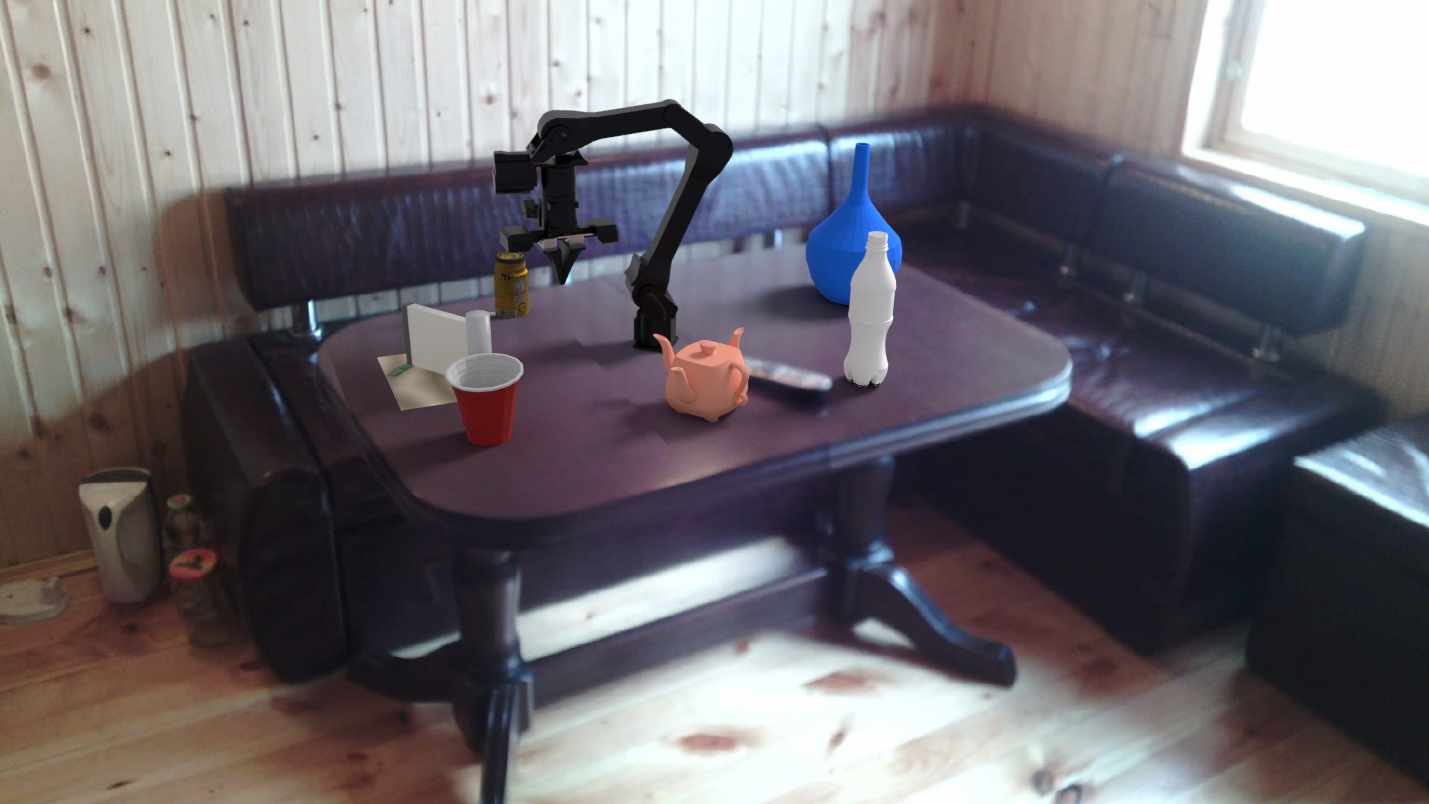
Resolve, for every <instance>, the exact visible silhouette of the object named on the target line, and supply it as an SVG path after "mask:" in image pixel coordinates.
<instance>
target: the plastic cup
mask: <svg viewBox="0 0 1429 804" xmlns="http://www.w3.org/2000/svg"><path fill="white" fill-rule="evenodd" d="M523 375H524V364H523V363H522V362H521V361H520V360H519V359H518V358H517V357H514V356H511V355H508V354H505V353H495V352H492V353H485V354H476V355H472V356H468V357H464V358H462V359H460V360H458V361H456V362H454V363H452V364H451V366H450V367H449V368H448V369H447V370H446V379H447V381H448V382H449V383H450V384H451V386H452V389H453V390H454V394H455V395H456V399H457V402H456V403H457V405H458V409H459V413H460V416H461V417H460V418H461V420H462V425H463V427H464V429H465V433H466V436H467V440H468V441H469V442H470V443H471V444H473V445H476V446H481V447H495V446H499V445H503V444H505V443H507V442H509V440H510V439H511V438H512V434H513V425H514V422H515V414H516V407H517V397H518V391H519V385H520V380H521V377H522V376H523Z"/></svg>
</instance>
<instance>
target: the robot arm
mask: <svg viewBox="0 0 1429 804" xmlns="http://www.w3.org/2000/svg"><path fill="white" fill-rule="evenodd" d="M536 127H537V128H536V133H534V135H533V137H532V138H531V140H530V141H529V143H527V146H526V147H525V151H524V150H522V151H520V150H519V151H506V150H494V151H493V152H492V153H493V161H492V162H493V163H492V164H493V165H492V166H493V167H492V169H491V171H492V173H491V174H492V185H493V192H494V195H495V196H506V195H507V196H508V195H531V191H532V192H533V191H535V188H537V187H538V172H537V169H538V168H539V173H540V174H539V175H540V176H539V177H540V194H539V198H538V204H537V203H536V202H535V199H534V198H531V199H529V198H528V199H522V200H521V216H522V219H523V220H524V221H525V220H533V224H534V225H536V226H538V228H541V229H539V230H538V229H536V230H529V229H528V228H527V227H526V226H525V225H524V224H522V225H512V226H511V225H510V226H509V225H508V226H503V227H502V228H501V229H500V232H499V243H500V244H501V246H502V247H503V248H504V249H505V250H506V252H507V251H508V252H509V253H519V252H520V253H526V252H528V253H529V252H530V250H531V249H532V248H533V247H534V245H535V247H536V248H537V249H538V250H539V251H540V252H541V253H542V254H543V255H546V257H547V258H548V260H549V263H550V265H551V268H552V270H553V272H554V275H555V278H556V281H557V283H558V285H559V286H564V285H566V282H567V280H568V278H569V275H570V273H571V271H572V269H573V266H574V264H575V262H576V260H577V259H578V257H579V256H580V255H581V252H582V251H586V250H587V245H585V244H584V240H585V238H592V237H593V238H594V237H596V240H598V241H599V242H600V243H601V244H608V243H609V244H610V243H611V244H612V243H618V242H620V229H619V226H618V225H617V224H615V223H614V222H613V221H612V220H611V219H610V218H608V217H607V216H601V217H593V218H592V217H591V218H587V219H586V222H585V225H578V209H579V208H580V201H578V198H577V197H578V192H577V191H578V190H577V167H587V166H589V163H590V162H589V161H588V159H587V157H586V156H585V155H583V154H582V153H581V152H580V150H579V149H582V148H584V147H586V146H588V145H590V144H592V143H593V142H596V141H601V140H603V139H610V138H616V137H623V136H628V135H634V134H640V133H648V132H653V131H659V130H665V129H671V130H672V131H674V132H675V133H677V134H678V135H679V136H680V137H681V138H683V139H684V140H686V141H687V142H688V146H687V150H686V152H685V153H686V155H685V161H684V169H683V174H682V176H681V178H680V180H679V183H678V185H677V186H676V189H675V190H674V191H675V192H674V193H673V195H672V198H671V199H670V201H669V204H668V206H667V208H666V211H665V213H664V215H663V217H662V219H661V221H660V223H659V225H658V228H657V230H656V233H655V235H654V237H653V239H652V240H651V243H650V244H649V247H648V248H647V250H646V251H645V252H643V253H642V255H639V254H638V253H636V252H634V253H632V257H631V259H630V263H629V266H628V267H627V269H625V270H624V271H623V274H624V275H625V280H624V281H625V287H626V289H627V292H628V294H629V295H630V298H631V300H632V301H633V303H634V304H635V305H636V307H638V309H637V310H636V316H635V317H634V318H633V340H634V343H633V345H632V347H633V348H635V349H640V350H641V349H642V350H648V351H654V352H655V351H656V352H662V353H663V350H662V347H661V344H660V342H659V341H658V340H657V339H656V338H655V337H654V336H653V334H659V335H662V336H664V337H665V338H667V339H668V341H669V342H670V344H671V346H672V348H673V347H674V346H675V345H676V344H677V343H678V341H679V340H680V337H679V336H678V335H677V313H678V310H679V307H678V305H677V303H676V302H675V300H674V298H673V296H672V295H671V293H670V292H669V290H668V289H669V285H670V284H669V283H670V279H671V270H672V263H673V260H674V258H675V256H676V254H677V252H678V249H679V247H680V245H681V243H682V241H683V239H684V237H685V234H686V232H687V230H688V228H689V226H690V224H691V222H692V220H693V218H694V215H695V213H696V212H697V209H698V207H699V205H700V203H701V201H702V199H703V196H704V195H705V192H706V190H707V188H708V187H709V185H710V184H712V182H713V181H714V180H715V179H716V178H718V177H719V175H720V174H721V173H722V172H723V170H724V169H725V167H726V166H727V165H728V164H729V162H730V160H731V159H732V157H733V155H734V154H733V153H734V149H735V147H734V144H733V141H732V139H731V137H730V136H729V135H728V134H727V133H726V132H725V130H723V129H721V127H719V125H716V124H715V123H711V122H708V123H704V122H703V121H701V120H700V119H698V118H697V117H696V116H695V115H693V114H692V113H691V112H689V111H688V110H687V109H686V108H685V107H684V106H683V105H681V104H680V102H678V101H677V100H676V99H674V98H666V99H664V100H662V101H658V102H657V101H655V102H651V103H643V104H638V105H637V104H636V105H632V106H626V107H620V108H613V109H607V110H599V111H595V112H594V111H580V110H575V109H574V110H573V109H572V110H571V109H570V110H569V109H552V110H548V111H546V112H544V113H543V114H542V115H541V116H540V118H539V120H538V122H537V126H536ZM558 241H559V246H560V247H559V246H558Z"/></svg>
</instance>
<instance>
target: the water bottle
mask: <svg viewBox="0 0 1429 804" xmlns="http://www.w3.org/2000/svg"><path fill="white" fill-rule="evenodd" d="M887 238H888V235H887V233H884V232H879V231H873V232H870V233H869V235H868V242H867V245H866V247H865V248H866V250H867V251H866V255H865V257H864V259H863V260H862V262H861V263H860V265H859V266H858V268H857V269H856V271H855V273H854V275H853V277H852V280H851V295H850V305H848V306H849V307H848V308H849V309H848V312H847V317H848V318H849V319H848V320H849V324H850V332H851V335H850V336H851V337H850V339H851V340H850V345H849V349H848V352H847V355H846V357H845V359H844V361H843V371H844V374H845V377H846V380H847V379H849V380H851V379H853V381H852V382H853V383H854V384H855V383H856V384H858V385H867V386H868V385H869V384H870V382H871V384H873V383H874V384H879V383H880V384H881V383H882V382H883V381H884V379H885V378H886V376H887V374H888V369H889V362H888V359H887V354H886V338H887V334H888V332H889V328H890V327H891V325H892V323H893V320H894V316H893V311H894V303H895V302H894V301H895V294H896V293H895V292H896V289H897V281H896V275H895V276H894V274H893V271H892V269H891V267H890V264H889V262H888V259H887V251H888V247H887V246H888V244H887ZM849 380H848V381H849ZM856 384H855V385H856ZM880 384H879V385H880ZM858 385H857V386H858Z"/></svg>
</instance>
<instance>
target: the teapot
mask: <svg viewBox="0 0 1429 804" xmlns="http://www.w3.org/2000/svg"><path fill="white" fill-rule="evenodd" d="M744 330H745V328H744V327H742V326H741V327H739V328H737V329H735V330H734V331H733V332H732V334H731V336H730V339H729V341H728V344H725V343H720V342H716V341H713V340H708V339H701V340H698V341H695V342H693V343H691V344H689V345H686V346H685V347H683V348H682V349H680V350H679V351H678V352H677V353H676V354H675V352H674V350H673V347H672V346H671V344H670V342H669V341H668V339H667V338H665V337H664V336H662V335H659V334H653V336H654V337H655V338H656V339H657V340H658V341H659V342H660V344H661V347H662V350H663V352H662V358H663V367H664V371H665V374H666V375H667V379H666V383H665V389H664V391H665V393H664V394H665V395H664V396H665V399H666V401H667V403H668V405H669V407H670V408H671V409H674V410H675V412H677V413H679V414H688V415H691V416H692V415H693V416H695V417H700V418H703V419H704V420H705V421H706V420H707V421H706V422H708V421H716V420H718V418H719V417H722V416H724V415H726V414H728V413H729V412H731V411H733V410H735V409H736V408H737V407H738V406H739V407H742V406H746V405H747V403H748V401H749V399H748V395H747V392H748V388H749V379H750V371H749V368H748V367H747V366H746V364H745V361H744V357H743V354H742V352H741V349H740V340H741V337H742V335H743V333H744ZM718 421H719V420H718ZM716 422H717V421H716Z"/></svg>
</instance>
